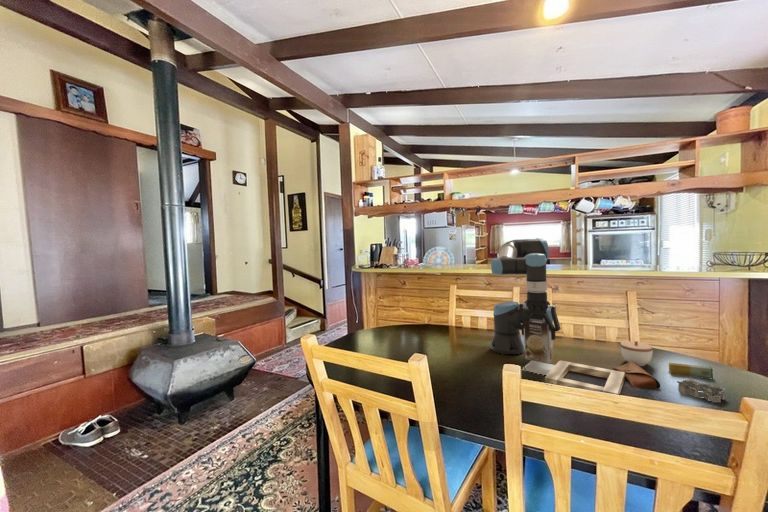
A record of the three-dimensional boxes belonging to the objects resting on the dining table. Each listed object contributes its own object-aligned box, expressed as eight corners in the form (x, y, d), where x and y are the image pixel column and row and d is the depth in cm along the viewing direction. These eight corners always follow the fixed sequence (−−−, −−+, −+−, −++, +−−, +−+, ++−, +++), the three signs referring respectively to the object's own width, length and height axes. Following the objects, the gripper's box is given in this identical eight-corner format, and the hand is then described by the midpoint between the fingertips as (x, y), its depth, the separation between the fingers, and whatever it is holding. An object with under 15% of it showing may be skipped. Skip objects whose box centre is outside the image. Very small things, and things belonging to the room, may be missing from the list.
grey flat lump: (674, 392, 110) (674, 380, 109) (685, 386, 113) (685, 375, 113) (717, 405, 100) (717, 392, 100) (728, 399, 103) (728, 386, 103)
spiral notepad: (521, 370, 133) (521, 369, 133) (531, 361, 142) (531, 360, 142) (548, 376, 126) (547, 374, 126) (556, 366, 135) (556, 365, 135)
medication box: (711, 377, 119) (711, 366, 119) (713, 380, 117) (713, 369, 116) (668, 372, 125) (668, 361, 125) (670, 374, 123) (669, 364, 123)
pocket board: (545, 383, 120) (544, 377, 120) (559, 366, 135) (559, 360, 135) (617, 401, 105) (617, 393, 105) (624, 378, 121) (624, 372, 120)
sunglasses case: (610, 367, 131) (619, 353, 130) (627, 376, 130) (636, 363, 129) (632, 387, 114) (643, 372, 113) (653, 398, 112) (664, 383, 111)
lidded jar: (659, 368, 128) (659, 345, 128) (628, 367, 130) (628, 344, 130) (643, 358, 139) (643, 337, 138) (615, 358, 141) (615, 337, 140)
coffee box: (524, 359, 134) (523, 321, 134) (529, 354, 139) (528, 318, 138) (548, 364, 128) (547, 324, 127) (553, 359, 133) (551, 320, 132)
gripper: (506, 290, 137) (508, 343, 138) (563, 294, 122) (565, 352, 123) (513, 288, 143) (515, 338, 143) (568, 291, 128) (570, 347, 129)
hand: (538, 345), depth 133 cm, fingers closed on coffee box, 9 cm apart
